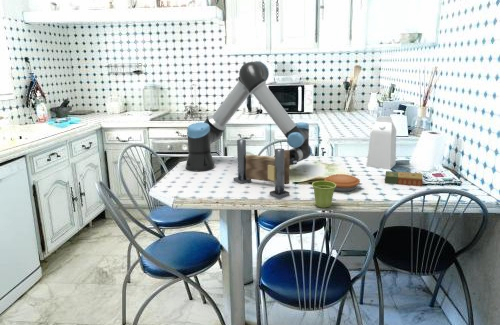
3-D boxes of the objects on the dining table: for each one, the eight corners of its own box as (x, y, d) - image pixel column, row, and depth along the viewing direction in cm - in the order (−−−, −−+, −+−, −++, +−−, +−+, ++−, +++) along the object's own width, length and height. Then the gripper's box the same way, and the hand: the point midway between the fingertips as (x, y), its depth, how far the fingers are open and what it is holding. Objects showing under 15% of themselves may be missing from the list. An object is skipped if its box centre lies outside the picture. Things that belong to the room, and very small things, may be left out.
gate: (245, 178, 191) (244, 147, 187) (248, 177, 194) (247, 146, 190) (287, 184, 182) (288, 151, 178) (290, 182, 184) (290, 150, 180)
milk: (395, 164, 218) (399, 115, 211) (389, 169, 209) (393, 118, 202) (373, 161, 224) (375, 114, 218) (366, 166, 215) (369, 117, 208)
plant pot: (336, 202, 165) (337, 181, 162) (333, 210, 156) (334, 189, 154) (313, 200, 168) (314, 179, 165) (309, 208, 159) (309, 187, 157)
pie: (353, 195, 172) (353, 184, 171) (318, 190, 180) (319, 179, 179) (364, 185, 185) (364, 175, 183) (331, 180, 193) (331, 170, 191)
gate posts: (233, 181, 195) (232, 140, 189) (243, 178, 198) (242, 138, 193) (278, 198, 170) (278, 152, 165) (289, 195, 173) (289, 149, 168)
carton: (422, 187, 182) (423, 178, 181) (384, 184, 187) (384, 175, 186) (421, 181, 189) (422, 172, 188) (385, 178, 195) (385, 170, 193)
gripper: (304, 165, 203) (280, 177, 184) (281, 162, 211) (255, 173, 192) (304, 150, 201) (280, 161, 183) (281, 147, 209) (255, 157, 190)
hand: (267, 167), depth 187 cm, fingers closed
